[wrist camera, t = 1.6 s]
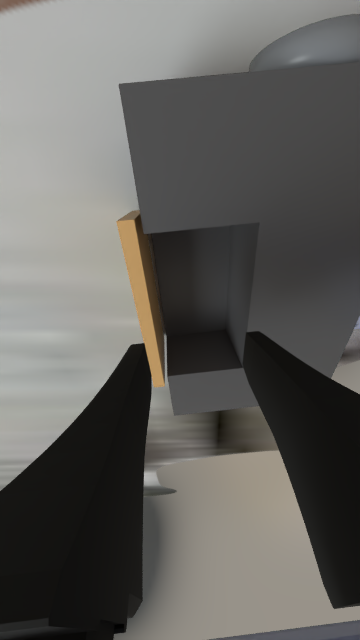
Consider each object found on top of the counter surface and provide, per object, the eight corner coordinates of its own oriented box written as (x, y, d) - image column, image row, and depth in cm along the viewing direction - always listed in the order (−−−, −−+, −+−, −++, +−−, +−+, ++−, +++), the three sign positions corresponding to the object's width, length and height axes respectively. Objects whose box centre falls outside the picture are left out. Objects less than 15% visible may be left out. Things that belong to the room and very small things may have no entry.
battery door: (143, 209, 14) (133, 219, 9) (164, 339, 20) (164, 386, 15) (132, 210, 14) (116, 221, 9) (156, 340, 20) (154, 387, 15)
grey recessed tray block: (359, 79, 12) (506, -6, 7) (287, 353, 23) (321, 398, 18) (132, 99, 12) (109, 29, 7) (171, 366, 23) (174, 415, 18)
